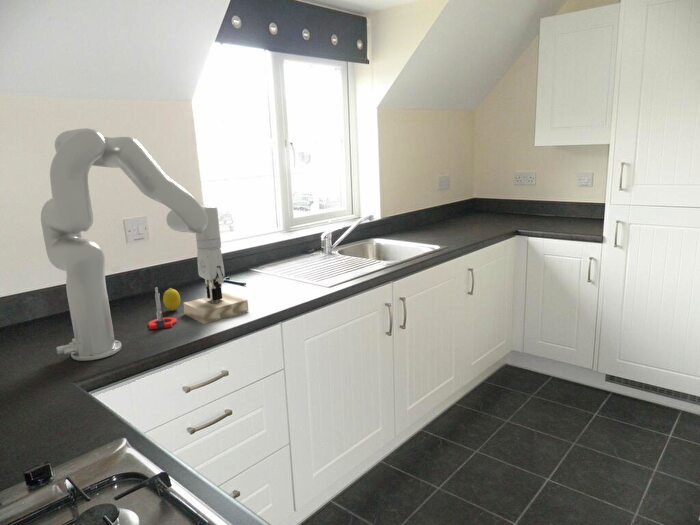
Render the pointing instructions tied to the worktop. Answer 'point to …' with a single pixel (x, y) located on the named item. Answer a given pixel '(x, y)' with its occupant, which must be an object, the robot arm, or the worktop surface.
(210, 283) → the peg
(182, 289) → the worktop surface
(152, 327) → the red grey post stand
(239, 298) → the hole block
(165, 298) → the lemon
